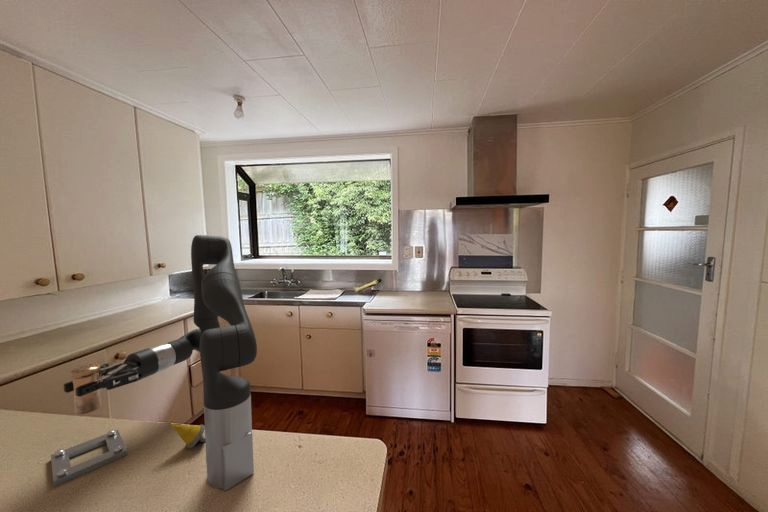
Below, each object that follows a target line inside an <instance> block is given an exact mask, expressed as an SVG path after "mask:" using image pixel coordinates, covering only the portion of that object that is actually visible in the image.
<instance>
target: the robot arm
mask: <svg viewBox="0 0 768 512" xmlns="http://www.w3.org/2000/svg"><path fill="white" fill-rule="evenodd" d="M232 247H233V246H232V244H231V240H230V239H229V238H228V237H225V236H223V235H222V236H220V235H204V234H203V235H201V234H198V235H195V236H193V238H192V241H191V246H190V255H191V256H190V257H191V258H190V261H191V275H192V276H191V277H192V286H193V299H194V300H193V302H194V303H193V324H194V325H195V326H196V327H197V328H195V329H192V330H191V331H189V332H187V333H185V334H184V335H182V336H181V337H179V338H178V339H174V340H171V341H168V342H165V343H161V344H157V345H153V346H151V347H148V348H144V349H141V350H138V351H134V352H132V353H129V354H128V355H127V356H126V358H125V359H124V361H123V362H122V363H121V362H118V363H113V364H112V365H110V363H104V364H101V365H100V371H99V379H98V381H97V380H95V381H92V382H90V383H87V384H84V385H81V386H79V387H77V388H76V396H78V397H80V396H83V395H86V394H88V393H91V392H93V391H96V390H98V389H99V390H100V391H102V390H105V389H106V390H107V391H111V390H114V389H117V388H120V387H123V386H126V385H130V384H132V383H135V382H138V381H141V380H143V379H145V378H147V377H150V376H153V375H156V374H158V373H160V372H162V371H165V370H166V369H168V368H170V367H172V366H175V365H177V364H180V363H182V362H184V361H187V360H188V359H190V358H191V356H193V355H192V354H193V351H197V352H198V353H199V357H200V365H201V366H200V367H201V373H202V374H201V375H202V384H203V385H202V386H203V387H202V388H203V391H202V392H203V394H202V395H203V412H204V413H203V414H204V415H203V416H204V426H205V430H204V438H205V442H204V443H205V462H206V463H205V464H206V478H207V479H206V480H207V484H208V485H209V486H210V487H212V488H214V489H222V490H223V491H228V490H229V489H231V488H233V487H234V486H236V485H237V484H239V483H241V482H242V481H243V480H245V479H247V478H249V477H250V476H252V475H253V474H254V472H255V471H254V466H255V465H254V445H253V444H254V443H253V427H252V425H253V424H252V422H253V421H252V393H251V392H252V391H251V390H252V389H251V384H250V380H248V379H247V378H246V377H243V376H236V375H228V374H224V373H222V372H223V371H228V370H231V369H236V368H240V367H244V366H248V365H250V364H252V363H254V361H255V359H256V357H257V354H258V346H257V339H256V334H255V331H254V329H253V325H252V323H251V321H250V318H249V315H248V313H247V311H246V307H245V301H244V299H243V297H244V296H243V293H242V288H241V285H240V281H239V277H238V274H237V271H236V268H235V261H234V255H233V248H232ZM204 265H210V266H211V265H214V266H213V267H212V268H211V269H209V270H208V271H207V272H206V273H205V272H204ZM219 318H221V319H223V320H225V322H227V323H228V324H229V325H227V326H221V325H220V322H219ZM220 326H221V327H220ZM63 391H64V393H67V394H68V393H71V392H74V391H73V380H71V381H68V382H65V383H64V384H63Z"/></svg>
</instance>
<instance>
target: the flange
mask: <svg viewBox="0 0 768 512" xmlns="http://www.w3.org/2000/svg"><path fill="white" fill-rule="evenodd" d="M104 445H105V446H106V448H107V449H106V450H107V452H104V453H102V454H100V455H97V456H95V457H93V458H90V459H88V460H86V461H82V462H80V463H77V464H75V465H73V466H71V460H70V459H71V458H75V457H77V456H78V455H81V454H84V453H87V452H90V451H92V450H95V449H96V448H100V447H102V446H104ZM125 456H128V449H127V447H126V445H125V442H124V440H123V438H122V436H121V433H120V431H119V430H118V429H111V430H109V431H107V433H105V434H102V435H99V436H97V437H94V438H92V439H89V440H87V441H84V442H82V443H79V444H76V445H73V446H71V447H68V448H66V449H65V448H61V449H57V450H56V451H55V452H54V453H53V454H50V461H51V462H50V463H51V474H52V487H53V488H54V487H57V486H59V485H62V484H63V483H66V482H68V481H70V480H73V479H75V478H77V477H80V476H82V475H84V474H87V473H88V472H91V471H93V470H96V469H99V468H100V467H102V466H105V465H108V464H109V463H112V462H114V461H117V460H119V459H120V458H123V457H125Z"/></svg>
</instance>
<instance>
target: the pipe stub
mask: <svg viewBox="0 0 768 512" xmlns="http://www.w3.org/2000/svg"><path fill="white" fill-rule="evenodd" d="M100 366H101V365H100V364H99V363H92V364H86V365H82V366H78V367H76V368H73V369H71V370H70V371H69V374H70V375H69V376H70V379H72V381H73V391H72V392H73V401H74V404H73V405H74V414H75V415H85V414H90V413H92V412H94V411H96V410H98V409H100V408H101V406H102V400H101V399H102V398H101V390H99V389H98V390H96V391H93V392H91V393H88V394H86V395H83V396H80V397H78V396H76V388H77V387H79V386H81V385H84V384H87V383H90V382H92V381H95V380H97V381H98V379H99V371H100Z"/></svg>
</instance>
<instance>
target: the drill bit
mask: <svg viewBox="0 0 768 512" xmlns="http://www.w3.org/2000/svg"><path fill="white" fill-rule="evenodd" d="M171 427H172V429H174V431H175V432H176V433H177V435H178V436H179V437H180V438H181V439H182V441H183V442H184V444H185V448H187V449H190V450H191V449H192V448H193V447H195V446H196V444H197V443H198V442H202V443H206V442H205V435H203V434H204V433H205V424H199V425H195V424H194V425H192V424H191V425H190V424H189V426H188V424H184V425H183V424H171Z"/></svg>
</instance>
